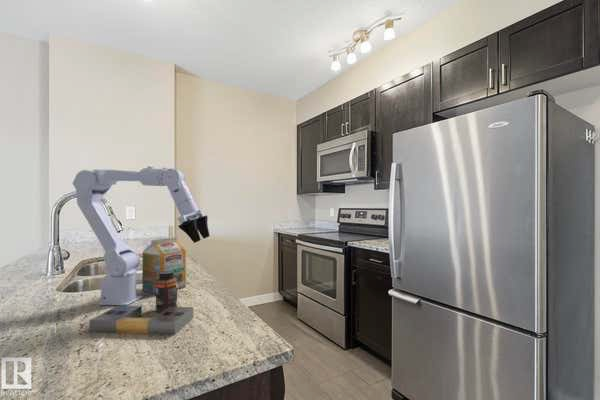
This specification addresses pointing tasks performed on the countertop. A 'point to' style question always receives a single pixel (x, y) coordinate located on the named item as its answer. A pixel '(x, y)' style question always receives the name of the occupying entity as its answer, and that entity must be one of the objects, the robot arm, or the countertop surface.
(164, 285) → the supplement bottle
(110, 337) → the countertop surface
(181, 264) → the food carton
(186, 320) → the grey flat block
